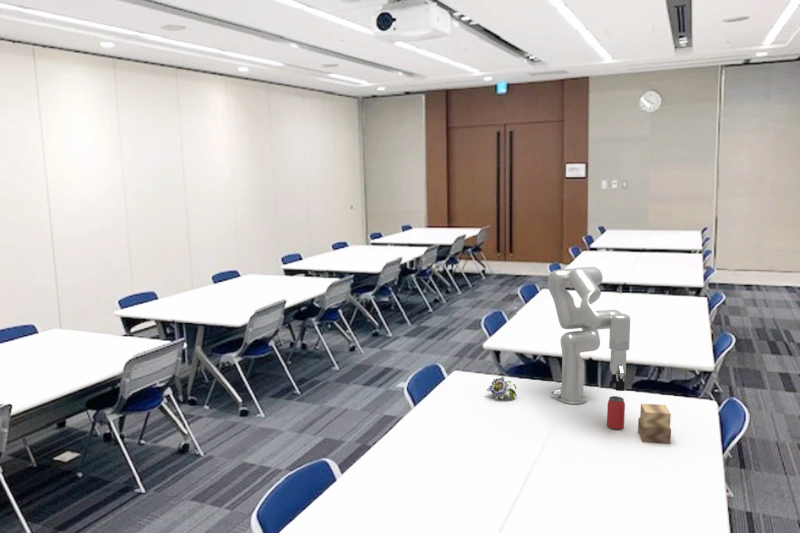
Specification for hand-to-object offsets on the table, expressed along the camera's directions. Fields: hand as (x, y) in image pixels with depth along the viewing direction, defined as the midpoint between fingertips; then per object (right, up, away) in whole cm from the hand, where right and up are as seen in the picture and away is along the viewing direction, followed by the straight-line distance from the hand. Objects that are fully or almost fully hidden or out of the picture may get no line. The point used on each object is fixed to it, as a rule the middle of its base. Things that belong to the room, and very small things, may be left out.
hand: (618, 386), depth 249 cm
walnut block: (+11, -19, -7) cm, 23 cm away
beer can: (0, -17, +3) cm, 17 cm away
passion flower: (-40, -12, +37) cm, 56 cm away
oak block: (+11, -13, -8) cm, 19 cm away
